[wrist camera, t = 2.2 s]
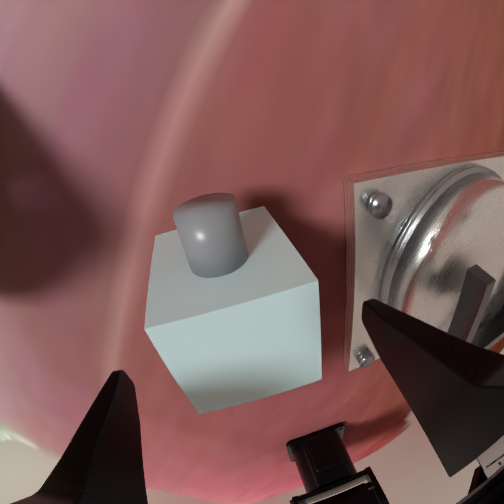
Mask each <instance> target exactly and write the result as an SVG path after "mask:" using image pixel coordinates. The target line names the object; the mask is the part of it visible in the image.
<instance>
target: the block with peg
mask: <svg viewBox="0 0 504 504" xmlns="http://www.w3.org/2000/svg"><path fill="white" fill-rule="evenodd" d="M173 218H174V221H175V224H176V228H177V230H173V231H170V232H167V233H163V234H160V235H156V236H155V242H154V249H153V256H152V263H151V270H150V278H149V286H148V295H147V305H146V315H145V326H144V329H145V331H146V333H147V335H148V336H149V338H150V340H151V341H152V343H153V345H154V346H155V348H156V350H157V351H158V353H159V355H160V356H161V358H162V360H163V361H164V363H165V364H166V366H167V368H168V369H169V371H170V372H171V374H172V375H173V377H174V378H175V380H176V381H177V383H178V384H179V386H180V387H181V389H182V390H183V392H184V393H185V395H186V396H187V398H188V399H189V401H190V402H191V403H192V405H193V406H194V408H195V409H196V410H197V412H198V413H199V414H202V413H206V412H211V411H215V410H220V409H224V408H228V407H232V406H236V405H240V404H244V403H248V402H251V401H255V400H259V399H262V398H266V397H269V396H272V395H276V394H279V393H282V392H285V391H288V390H291V389H295V388H298V387H301V386H303V385H306V384H309V383H312V382H315V381H318V380H320V379H322V360H321V326H320V303H319V286H318V279H317V278H316V277H315V275H314V274H313V272H312V271H311V270H310V268H309V267H308V265H307V264H306V263H305V261H304V260H303V258H302V257H301V256H300V254H299V253H298V251H297V250H296V249H295V247H294V246H293V245H292V243H291V242H290V240H289V239H288V238H287V236H286V235H285V234H284V232H283V231H282V230H281V228H280V227H279V225H278V224H277V223H276V221H275V220H274V219H273V217H272V216H271V215H270V213H269V212H268V211H267V209H266V208H265V207H264V206H262V207H258V208H254V209H250V210H246V211H242V212H239V211H238V207H237V202H236V198H235V196H234V195H232V194H229V193H212V194H207V195H202V196H199V197H196V198H193V199H191V200H188V201H186V202H184V203H183V204H181V205H180V206H178V207H177V208H176V209H175V210H174V212H173Z"/></svg>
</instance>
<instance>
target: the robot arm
mask: <svg viewBox="0 0 504 504" xmlns="http://www.w3.org/2000/svg"><path fill="white" fill-rule="evenodd" d="M361 318H362V322H363V325H364V327H365V329H366V331H367V333H368V335H369V337H370V339H371V341H372V343H373V345H374V347H375V349H376V351H377V353H378V355H379V357H380V359H381V360H382V362H383V363H384V365H385V367H386V368H387V370H388V371H389V373H390V375H391V376H392V378H393V380H394V381H395V383H396V384H397V386H398V388H399V389H400V391H401V393H402V394H403V396H404V398H405V399H406V401H407V403H408V404H409V406H410V408H411V409H412V411H413V413H414V415H415V416H416V418H417V420H418V421H419V423H420V425H421V427H422V428H423V430H424V432H425V434H426V435H427V437H428V439H429V441H430V443H431V444H432V446H433V448H434V450H435V452H436V453H437V455H438V457H439V459H440V460H441V463H442V464H443V466H444V468H445V470H446V472H447V474H448V476H449V477H451V476H453V475H454V474H456V473H457V472H459V471H460V470H462V469H463V468H464V467H465V466H467V465H468V464H470V463H471V462H472V461H474V460H475V459H477V460H478V462H479V464H480V466H479V467H477V468H476V469H475V471H474V475H473V478H472V482H471V486H470V489H469V493H468V495H467V496H466V497H464V498H463V499H462V500H460V501H459V502H458V503H456V504H504V355H502V354H499V353H496V352H494V351H491V350H488V349H485V348H482V347H479V346H477V345H474V344H472V343H469V342H467V341H464V340H462V339H460V338H458V337H455V336H453V335H451V334H448V333H447V332H445V331H443V330H440V329H438V328H436V327H434V326H432V325H430V324H428V323H426V322H423V321H421V320H419V319H417V318H415V317H413V316H411V315H408V314H406V313H404V312H402V311H400V310H398V309H396V308H393V307H391V306H389V305H387V304H385V303H383V302H381V301H378V300H376V299H373V298H372V299H369V300H366V301H364V302H363V305H362V316H361ZM344 429H345V426H344V424H343V423H342V424H339V425H336V426H334V427H331V428H329V429H326V430H323V431H321V432H318V433H315V434H312V435H309V436H306V437H303V438H300V439H297V440H294V441H291V442H288V443H287V444H286V446H287V450H288V454H289V457H290V460H291V462H294V461H295V462H296V465H297V468H298V471H299V473H300V476H301V479H302V482H303V484H304V487H305V490H306V492H307V493H306V494H303V495H300V496H295V497H292V500H290V504H308V503H311V502H314V501H317V500H319V499H322V498H325V497H327V496H330V495H333V494H335V493H338V492H340V491H343V490H345V489H347V488H350V487H352V486H354V485H357V484H359V483H361V482H363V481H365V480H367V481H368V483H366V484H365V483H363V484H360V485H358V486H356V487H354V488H351V489H349V490H347V491H344V492H342V493H339V494H337V495H335V496H332V497H329V498H327V499H324V500H321V501H318V502H316V503H313V504H389V502H388V500H387V498H386V495H385V494H384V492H383V490H382V488H381V486H380V485H379V483H378V481H377V479H376V477H375V475H374V473H373V472H372V470H371V468H370V467H367V468H365V470H363V471H361V472H358V473H357V472H356V469H355V467H354V465H353V463H352V461H351V458H350V456H349V454H348V452H347V450H346V448H345V446H344V443H343V441H342V439H343V434H344ZM11 504H148V502H147V495H146V487H145V478H144V469H143V458H142V446H141V430H140V420H139V413H138V406H137V400H136V392H135V386H134V384H133V382H132V380H131V379H130V378H129V377H128V375H127V374H126V373H125V372H124V371H123V370H117V371H113V372H112V373H111V375H110V376H109V378H108V379H107V381H106V383H105V384H104V386H103V387H102V389H101V391H100V392H99V394H98V396H97V397H96V399H95V401H94V402H93V404H92V406H91V407H90V409H89V411H88V412H87V414H86V416H85V417H84V419H83V421H82V422H81V424H80V426H79V428H78V429H77V431H76V433H75V435H74V436H73V438H72V440H71V442H70V443H69V445H68V447H67V449H66V450H65V452H64V454H63V455H62V457H61V459H60V460H59V462H58V463H57V465H56V466H55V468H54V469H53V471H52V472H51V474H50V475H49V477H48V478H47V480H46V481H45V483H44V484H43V485H42V487H41V488H40V489H39V490H38V492H36V493H35V494H34V495H32V496H30V497H27V498H25V499H22V500H19V501H17V502H14V503H11Z"/></svg>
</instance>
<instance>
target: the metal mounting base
mask: <svg viewBox="0 0 504 504" xmlns="http://www.w3.org/2000/svg"><path fill="white" fill-rule="evenodd" d="M343 183H344V199H345V221H346V317H345V339H344V355H343V363H344V365H345V366H346V368H347V370H348V371H351V370H353V369H356V368H358V367H360V366H361V367H362V368H364V367H367V366H369V365H371V364H372V363H373V362H374V360H377V359H379V358H380V357H379V355H378V353H377V351H376V349H375V347H374V345H373V343H372V341H371V339H370V337H369V335H368V333H367V331H366V329H365V327H364V325H363V322H362V318H361V316H362V305H363V302H364V301H366V300H369V299H372V298H373V299H376V300H378V301H381V302H383V303H385V304H387V305H389V306H391V307H393V308H396V309H398V310H400V311H402V312H404V313H406V314H408V315H411V316H413V317H415V318H417V319H419V320H421V321H423V322H426V323H428V324H430V325H432V326H434V327H436V328H438V329H440V330H443V331H445V332H447V333H448V334H451V335H453V336H455V337H458V338H460V339H462V340H464V341H467V342H469V343H472V344H474V345H477V346H479V347H482V348H485V349H489V348H491V347H492V346H493V345H494V344H496V343H497V342H498V341H499V340H500V339H502V338H503V337H504V151H500V152H491V153H483V154H476V155H468V156H461V157H454V158H448V159H441V160H435V161H429V162H423V163H417V164H411V165H405V166H400V167H394V168H389V169H383V170H378V171H373V172H368V173H363V174H358V175H353V176H348V177H343Z"/></svg>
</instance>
